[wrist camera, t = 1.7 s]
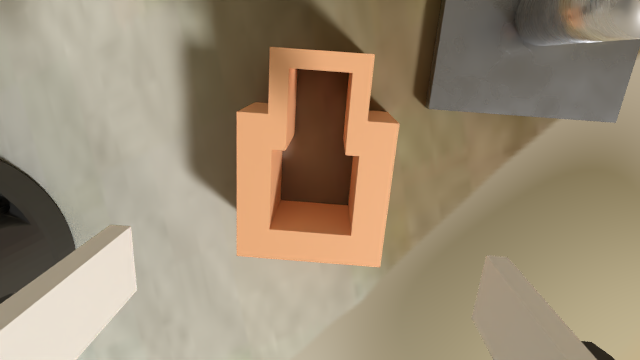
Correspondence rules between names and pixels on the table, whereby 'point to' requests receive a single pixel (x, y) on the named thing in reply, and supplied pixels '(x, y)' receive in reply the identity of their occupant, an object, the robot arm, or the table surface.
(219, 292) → the table surface
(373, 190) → the orange bottle-shaped mold
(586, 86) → the post base
